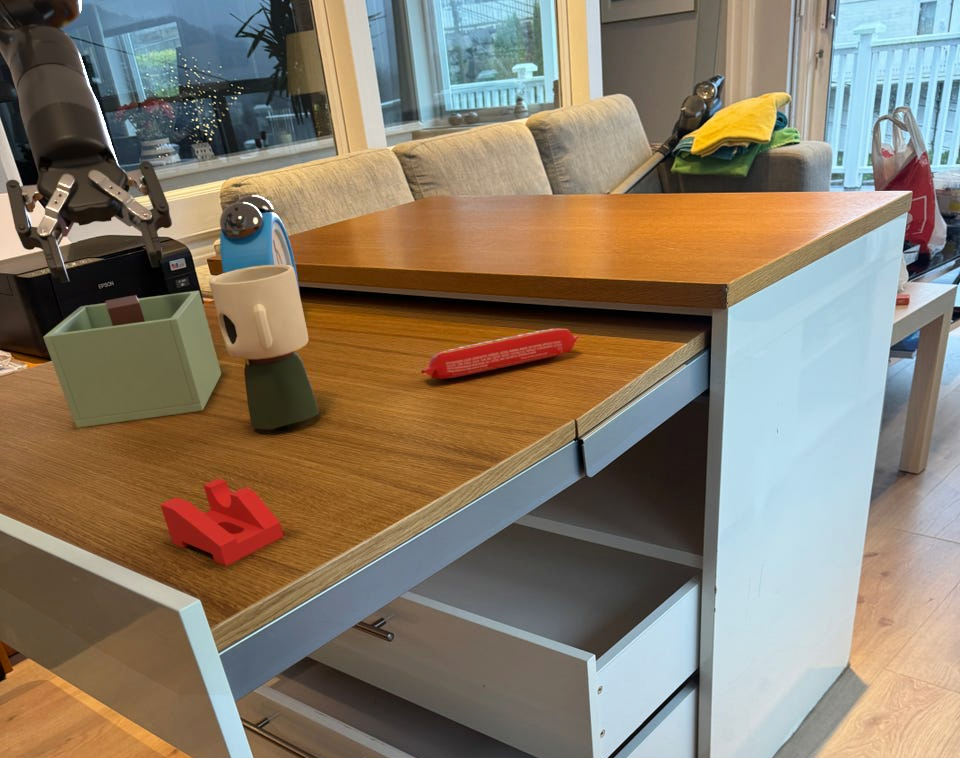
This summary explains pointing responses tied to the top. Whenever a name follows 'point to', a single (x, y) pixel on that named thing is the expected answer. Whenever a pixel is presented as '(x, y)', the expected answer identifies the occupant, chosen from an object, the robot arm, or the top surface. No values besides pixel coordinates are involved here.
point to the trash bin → (135, 361)
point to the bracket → (223, 523)
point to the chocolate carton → (125, 310)
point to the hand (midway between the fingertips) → (109, 269)
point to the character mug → (267, 341)
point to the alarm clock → (253, 236)
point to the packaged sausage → (500, 353)
